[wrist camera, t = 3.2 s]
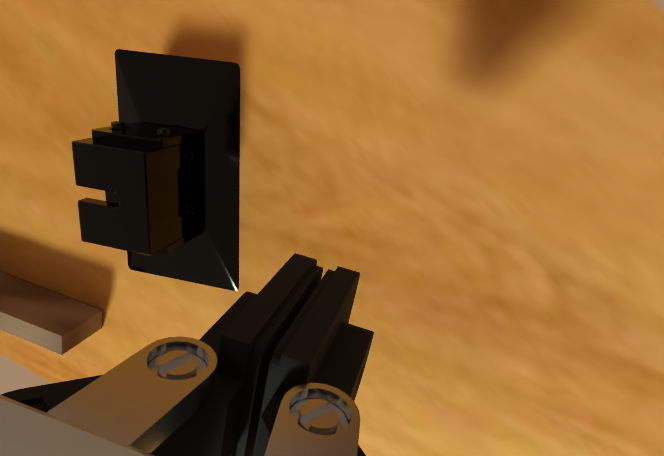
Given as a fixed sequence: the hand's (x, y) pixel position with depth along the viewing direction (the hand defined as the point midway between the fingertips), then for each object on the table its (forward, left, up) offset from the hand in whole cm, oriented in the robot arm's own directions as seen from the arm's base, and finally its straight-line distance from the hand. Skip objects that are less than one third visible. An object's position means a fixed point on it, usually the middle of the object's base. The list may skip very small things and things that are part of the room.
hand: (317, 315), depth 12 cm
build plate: (+8, 0, -8) cm, 11 cm away
